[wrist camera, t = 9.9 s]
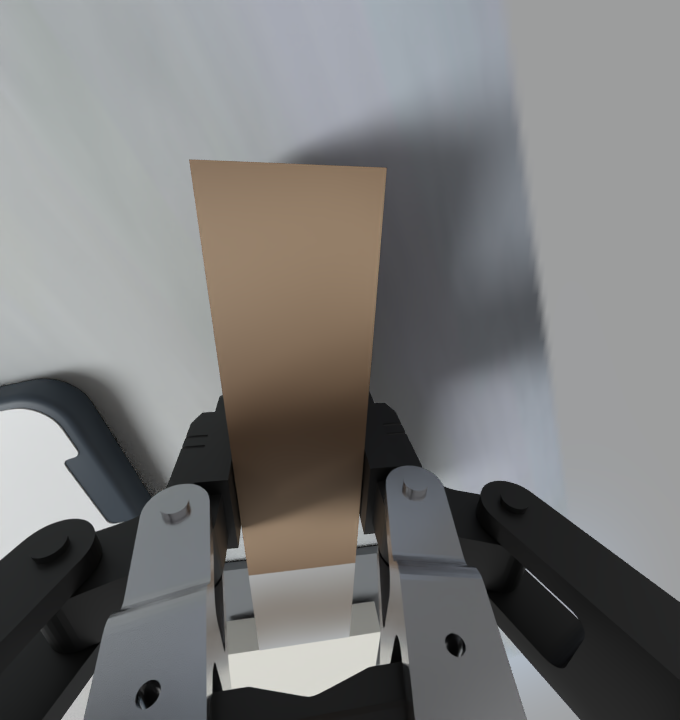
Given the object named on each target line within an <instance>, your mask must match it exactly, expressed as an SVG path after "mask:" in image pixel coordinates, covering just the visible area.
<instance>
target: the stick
mask: <svg viewBox="0 0 680 720" xmlns="http://www.w3.org/2000/svg"><path fill="white" fill-rule="evenodd" d="M189 161H190V168H191V175H192V182H193V189H194V196H195V203H196V210H197V217H198V224H199V231H200V238H201V245H202V252H203V259H204V266H205V273H206V280H207V287H208V294H209V301H210V308H211V315H212V322H213V329H214V336H215V343H216V350H217V357H218V364H219V371H220V378H221V385H222V392H223V399H224V406H225V413H226V420H227V427H228V434H229V441H230V448H231V455H232V462H233V469H234V476H235V483H236V490H237V497H238V504H239V511H240V518H241V525H242V532H243V539H244V546H245V553H246V560H247V567H248V574H249V581H250V588H251V595H252V602H253V610H254V617H255V624H256V631H257V638H258V645H259V650H266V649H273V648H279V647H286V646H293V645H299V644H306V643H313V642H319V641H326V640H333V639H339V638H346V637H349V636H350V624H351V611H352V598H353V586H354V573H355V561H356V548H357V536H358V523H359V510H360V498H361V485H362V473H363V460H364V447H365V435H366V422H367V410H368V397H369V385H370V372H371V359H372V347H373V334H374V322H375V309H376V296H377V284H378V271H379V259H380V246H381V234H382V221H383V208H384V196H385V183H386V171H387V168H382V167H358V166H333V165H309V164H285V163H261V162H237V161H212V160H189Z"/></svg>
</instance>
